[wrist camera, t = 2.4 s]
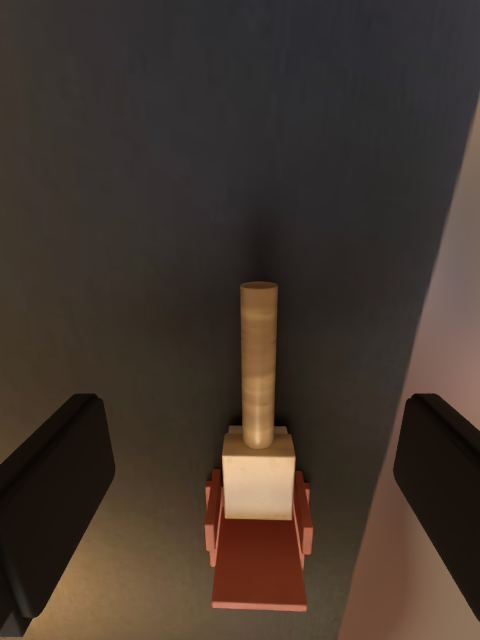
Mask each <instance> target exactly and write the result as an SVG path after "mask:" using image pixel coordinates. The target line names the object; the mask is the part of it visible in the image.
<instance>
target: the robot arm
mask: <svg viewBox="0 0 480 640" xmlns="http://www.w3.org/2000/svg"><path fill="white" fill-rule="evenodd" d="M393 472H394V477H395V480H396V482H397V484H398V486H399V487H400V489H401V491H402V493H403V494H404V496H405V498H406V499H407V501H408V503H409V504H410V506H411V508H412V509H413V511H414V513H415V515H416V516H417V518H418V520H419V521H420V523H421V525H422V526H423V528H424V530H425V532H426V533H427V535H428V537H429V538H430V540H431V542H432V543H433V545H434V547H435V548H436V550H437V552H438V554H439V555H440V557H441V559H442V560H443V562H444V564H445V566H446V567H447V569H448V571H449V572H450V574H451V576H452V577H453V579H454V581H455V582H456V584H457V586H458V588H459V589H460V591H461V593H462V594H463V596H464V597H465V599H466V601H467V603H468V604H469V606H470V608H471V609H472V611H473V613H474V615H475V616H476V618H477V619H478V621H479V622H480V431H479V430H478V429H477V428H475V427H474V426H473V425H472V424H471V423H470V422H469V421H468V420H466V419H465V418H464V417H463V416H462V415H461V414H459V413H458V412H457V411H456V410H455V409H454V408H453V407H451V406H450V405H449V404H448V403H447V402H446V401H444V400H443V399H442V398H441V397H440V396H439V395H437V394H414V395H412V397H411V398H409V399H408V400H407V401H406V404H405V410H404V415H403V420H402V425H401V431H400V436H399V441H398V446H397V452H396V457H395V462H394V468H393ZM114 475H115V462H114V457H113V452H112V446H111V441H110V436H109V430H108V425H107V420H106V414H105V409H104V403H103V400H102V399H100V398H98V396H97V395H96V394H74V395H73V396H72V397H70V398H69V399H68V400H67V401H66V402H65V403H64V404H63V405H62V406H61V407H60V408H59V409H58V410H57V411H56V412H55V413H54V414H53V415H52V416H51V417H50V418H49V419H47V420H46V421H45V422H44V423H43V424H42V425H41V426H40V427H39V428H38V429H37V430H36V431H35V432H34V433H33V434H32V435H31V436H30V437H29V438H28V439H27V440H26V441H24V442H23V443H22V444H21V445H20V446H19V447H18V448H17V449H16V450H15V451H14V452H13V453H12V454H11V455H10V456H9V457H8V458H7V459H6V460H5V461H4V462H3V463H2V464H0V637H23V635H24V634H25V632H26V630H27V628H28V626H29V624H30V623H31V621H32V619H33V618H35V617H37V616H39V615H40V613H41V612H42V611H43V609H44V608H45V606H46V604H47V602H48V600H49V599H50V597H51V595H52V593H53V591H54V589H55V587H56V585H57V584H58V582H59V580H60V578H61V576H62V574H63V572H64V570H65V569H66V567H67V565H68V563H69V561H70V559H71V557H72V555H73V554H74V552H75V550H76V548H77V546H78V544H79V542H80V540H81V539H82V537H83V535H84V533H85V531H86V529H87V527H88V525H89V524H90V522H91V520H92V518H93V516H94V514H95V512H96V510H97V509H98V507H99V505H100V503H101V501H102V499H103V497H104V495H105V494H106V492H107V490H108V488H109V486H110V484H111V482H112V480H113V478H114Z"/></svg>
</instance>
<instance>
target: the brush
mask: <svg viewBox="0 0 480 640" xmlns="http://www.w3.org/2000/svg"><path fill="white" fill-rule="evenodd" d="M240 294H241V363H242V426H229V431H228V433H225V436H224V444H223V451H222V468H223V491H224V515H225V518H226V519H264V520H292V510H293V493H294V476H295V458H296V456H295V451H294V446H293V441H292V436H291V434H288V433H287V428H286V426H274V410H275V373H276V336H277V299H278V285H277V284H275V283H271V282H248V283H244V284H241V286H240Z"/></svg>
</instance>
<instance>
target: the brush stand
mask: <svg viewBox="0 0 480 640" xmlns="http://www.w3.org/2000/svg"><path fill="white" fill-rule="evenodd" d="M205 490H206V504H207V512H206V518H205V538H206V550H207V551H210V563H211V566H215V574H214V584H213V593H212V607H213V608H235V609H260V610H285V611H306V610H307V601H306V595H305V588H304V581H303V574H302V569H303V568H304V556H305V554H311V547H312V536H313V524H312V519H311V514H310V509H309V494H310V487H309V483H304V480H303V475H302V471H297V470H295V476H294V493H293V510H292V520H264V519H226V518H225V515H224V491H223V481H221V469H213V474H212V480H211V481H206V486H205Z"/></svg>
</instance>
